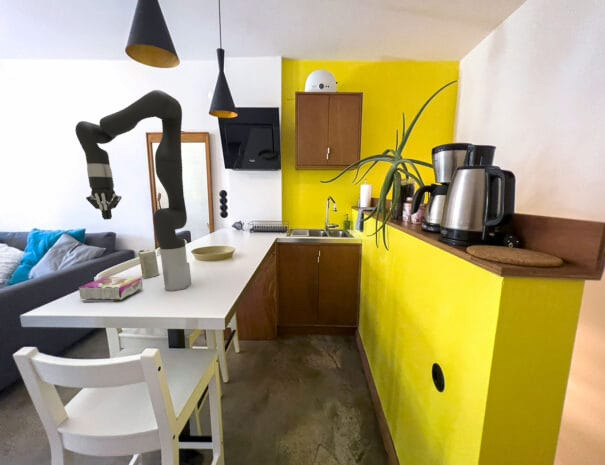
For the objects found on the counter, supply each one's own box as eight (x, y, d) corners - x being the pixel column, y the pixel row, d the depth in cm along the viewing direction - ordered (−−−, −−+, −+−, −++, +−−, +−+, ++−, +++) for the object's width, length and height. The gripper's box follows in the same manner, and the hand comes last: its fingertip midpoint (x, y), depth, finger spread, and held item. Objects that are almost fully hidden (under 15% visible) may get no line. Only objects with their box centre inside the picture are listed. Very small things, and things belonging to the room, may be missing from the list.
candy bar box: (104, 276, 98) (142, 276, 97) (106, 287, 99) (143, 288, 98) (77, 286, 87) (119, 287, 86) (79, 299, 88) (121, 300, 87)
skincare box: (156, 273, 118) (153, 249, 116) (159, 275, 115) (156, 250, 113) (141, 276, 113) (138, 252, 111) (143, 279, 110) (140, 253, 108)
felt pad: (139, 287, 101) (138, 285, 101) (113, 302, 87) (113, 300, 87) (113, 287, 101) (112, 285, 101) (83, 302, 87) (83, 300, 87)
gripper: (124, 176, 99) (130, 217, 102) (91, 177, 99) (98, 218, 102) (110, 175, 92) (117, 219, 95) (75, 176, 91) (83, 220, 94)
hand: (107, 219), depth 98 cm, fingers closed
